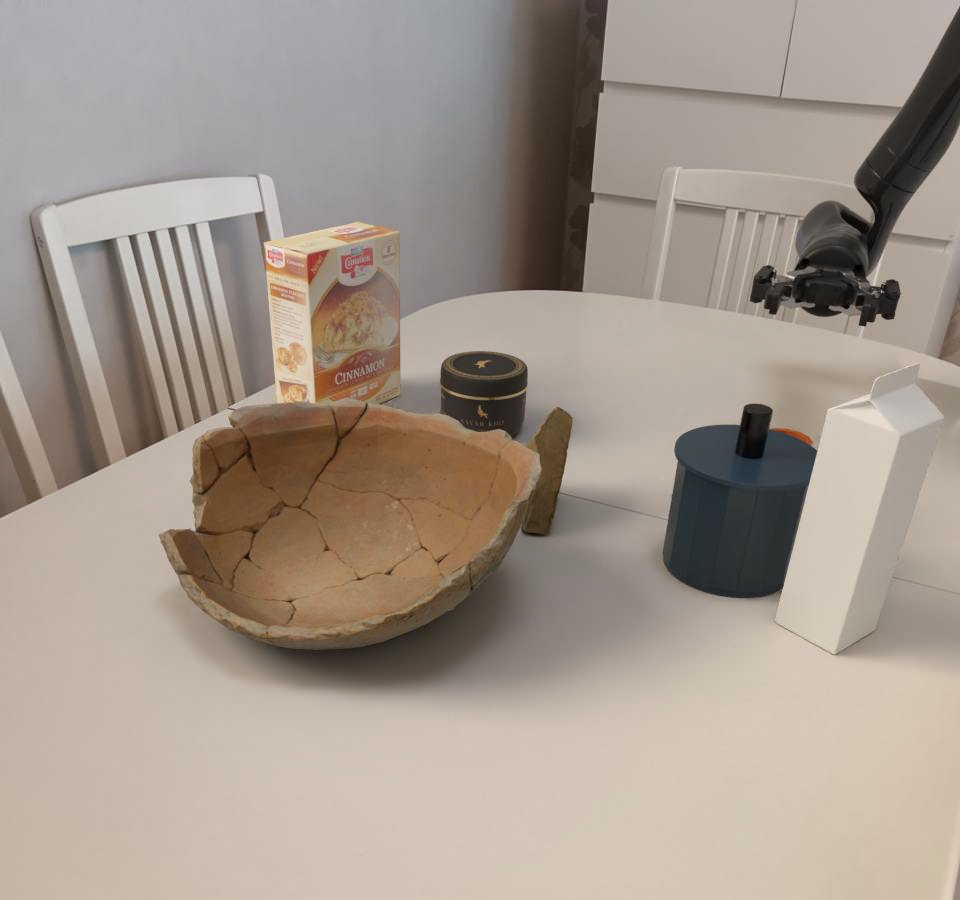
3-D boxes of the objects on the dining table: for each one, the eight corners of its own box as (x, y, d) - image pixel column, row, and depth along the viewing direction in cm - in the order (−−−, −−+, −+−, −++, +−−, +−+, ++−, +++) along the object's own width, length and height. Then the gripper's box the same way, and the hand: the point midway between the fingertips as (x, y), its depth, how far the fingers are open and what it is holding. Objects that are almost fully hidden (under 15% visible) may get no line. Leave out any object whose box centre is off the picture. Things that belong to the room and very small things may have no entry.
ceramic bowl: (106, 650, 72) (89, 451, 65) (236, 535, 96) (233, 383, 90) (506, 706, 69) (529, 505, 63) (535, 574, 94) (553, 420, 88)
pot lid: (751, 426, 91) (762, 373, 88) (853, 480, 82) (870, 423, 79) (643, 450, 85) (651, 394, 82) (740, 510, 76) (753, 450, 73)
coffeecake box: (318, 430, 111) (307, 252, 100) (275, 414, 114) (259, 240, 103) (404, 395, 121) (402, 229, 110) (361, 381, 124) (356, 219, 113)
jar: (439, 444, 109) (439, 378, 104) (439, 411, 117) (440, 348, 113) (527, 446, 109) (532, 380, 105) (521, 412, 117) (525, 350, 113)
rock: (573, 527, 89) (610, 473, 96) (522, 450, 86) (564, 400, 93) (490, 560, 96) (530, 508, 103) (440, 490, 94) (485, 441, 100)
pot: (731, 523, 96) (752, 423, 90) (817, 579, 87) (847, 472, 81) (637, 549, 91) (652, 444, 85) (719, 610, 83) (742, 499, 77)
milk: (773, 623, 81) (835, 366, 69) (815, 599, 85) (881, 350, 72) (836, 656, 78) (913, 391, 65) (877, 631, 81) (959, 373, 68)
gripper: (771, 229, 106) (752, 261, 94) (909, 243, 102) (907, 278, 90) (758, 298, 110) (738, 338, 98) (889, 315, 106) (886, 358, 94)
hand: (819, 310), depth 94 cm, fingers open, 8 cm apart
